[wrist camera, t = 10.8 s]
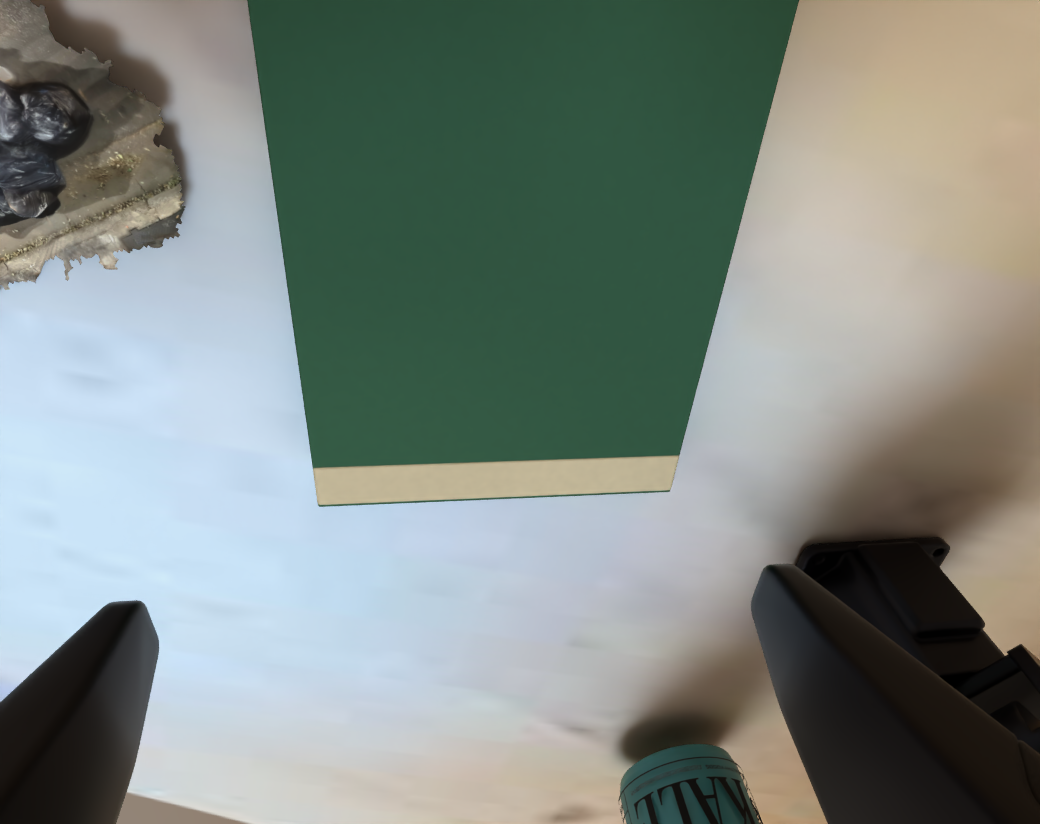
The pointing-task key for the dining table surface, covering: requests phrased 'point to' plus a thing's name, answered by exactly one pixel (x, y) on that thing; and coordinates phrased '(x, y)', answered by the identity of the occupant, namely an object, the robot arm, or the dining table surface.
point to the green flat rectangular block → (508, 231)
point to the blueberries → (74, 155)
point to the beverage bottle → (686, 788)
